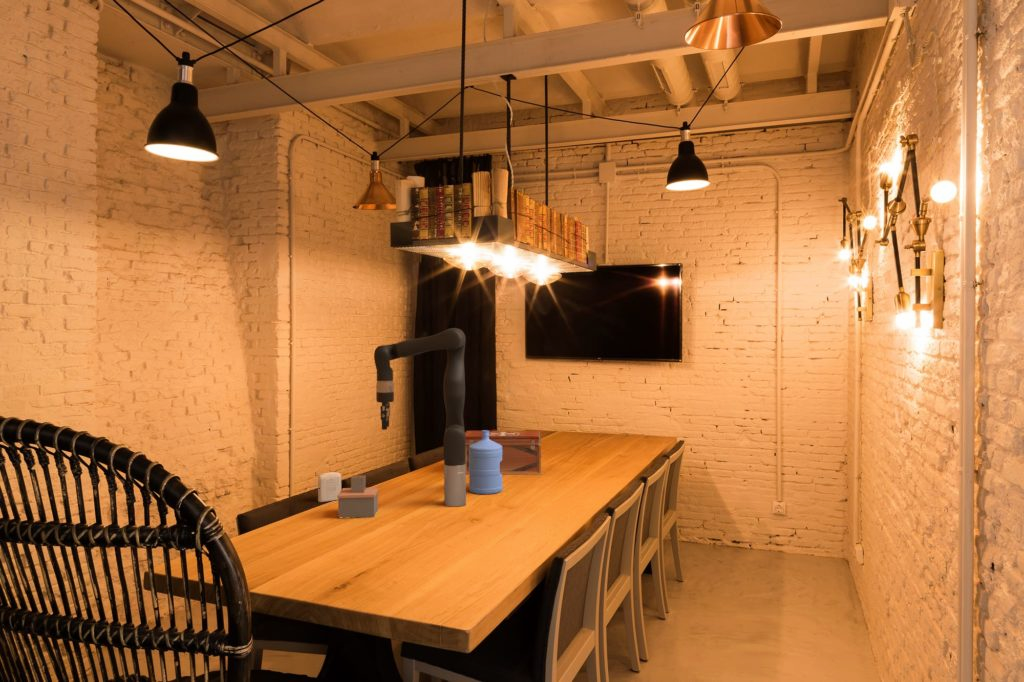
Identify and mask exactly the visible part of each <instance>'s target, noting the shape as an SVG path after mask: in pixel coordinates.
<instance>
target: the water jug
mask: <svg viewBox="0 0 1024 682" xmlns="http://www.w3.org/2000/svg"><path fill="white" fill-rule="evenodd" d="M481 431H482V440H480V441H478V442H476V443H474V444H472V445H470V446H469V475H468V477H469V478H468V479H469V481H468V482H469V483H468V484H469V485H468V490H469V492H470V493H472V494H474V495H475V494H476V495H494V494H499V493H501V492H502V491H503V489H504V485H503V475H502V474H500V462H501V461H502V446H501V445H500V444H498V443H496V442H494V441H492V440H490V439H489V431H490V430H488V429H484V430H483V429H482V430H481Z"/></svg>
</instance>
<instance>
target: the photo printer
mask: <svg viewBox="0 0 1024 682" xmlns="http://www.w3.org/2000/svg"><path fill="white" fill-rule="evenodd" d="M317 482H318V483H317V501H318V503H324V502H332V501H338V498H337V495H338V494H339V493H340V491H341V490H342V473H340V472H335V471H329V472H324V473H322V474H319V475H318V478H317ZM319 488H320V489H319Z"/></svg>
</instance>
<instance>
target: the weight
mask: <svg viewBox="0 0 1024 682" xmlns="http://www.w3.org/2000/svg"><path fill="white" fill-rule="evenodd" d="M366 477H367V476H366V474H365V475H362V474H360V475H359V474H358V475H356V474H355V475H352V476H351V478H350V488H351V493H364V492H365V490H366V488H367V486H366V482H367V481H366Z"/></svg>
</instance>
